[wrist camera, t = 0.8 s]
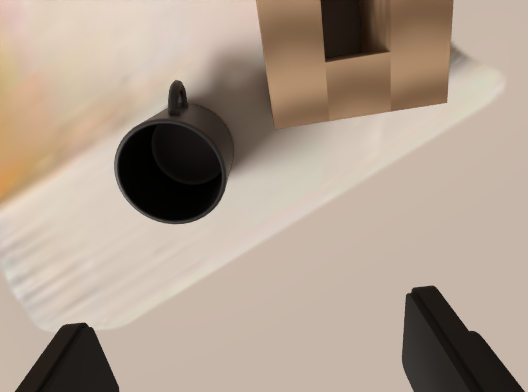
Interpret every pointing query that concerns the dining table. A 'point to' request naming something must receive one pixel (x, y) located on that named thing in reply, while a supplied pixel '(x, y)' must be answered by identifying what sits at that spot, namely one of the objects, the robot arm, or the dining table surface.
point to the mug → (175, 161)
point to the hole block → (355, 60)
